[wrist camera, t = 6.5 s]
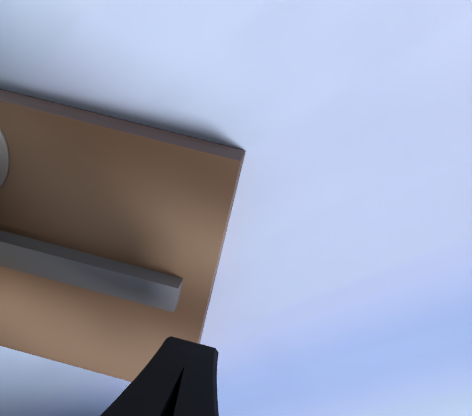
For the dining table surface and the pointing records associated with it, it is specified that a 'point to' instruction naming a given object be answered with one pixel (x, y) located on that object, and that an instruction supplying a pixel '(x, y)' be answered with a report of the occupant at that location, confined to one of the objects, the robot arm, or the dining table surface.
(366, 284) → the dining table surface
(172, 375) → the robot arm
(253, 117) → the dining table surface
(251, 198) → the dining table surface
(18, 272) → the flat brown board
